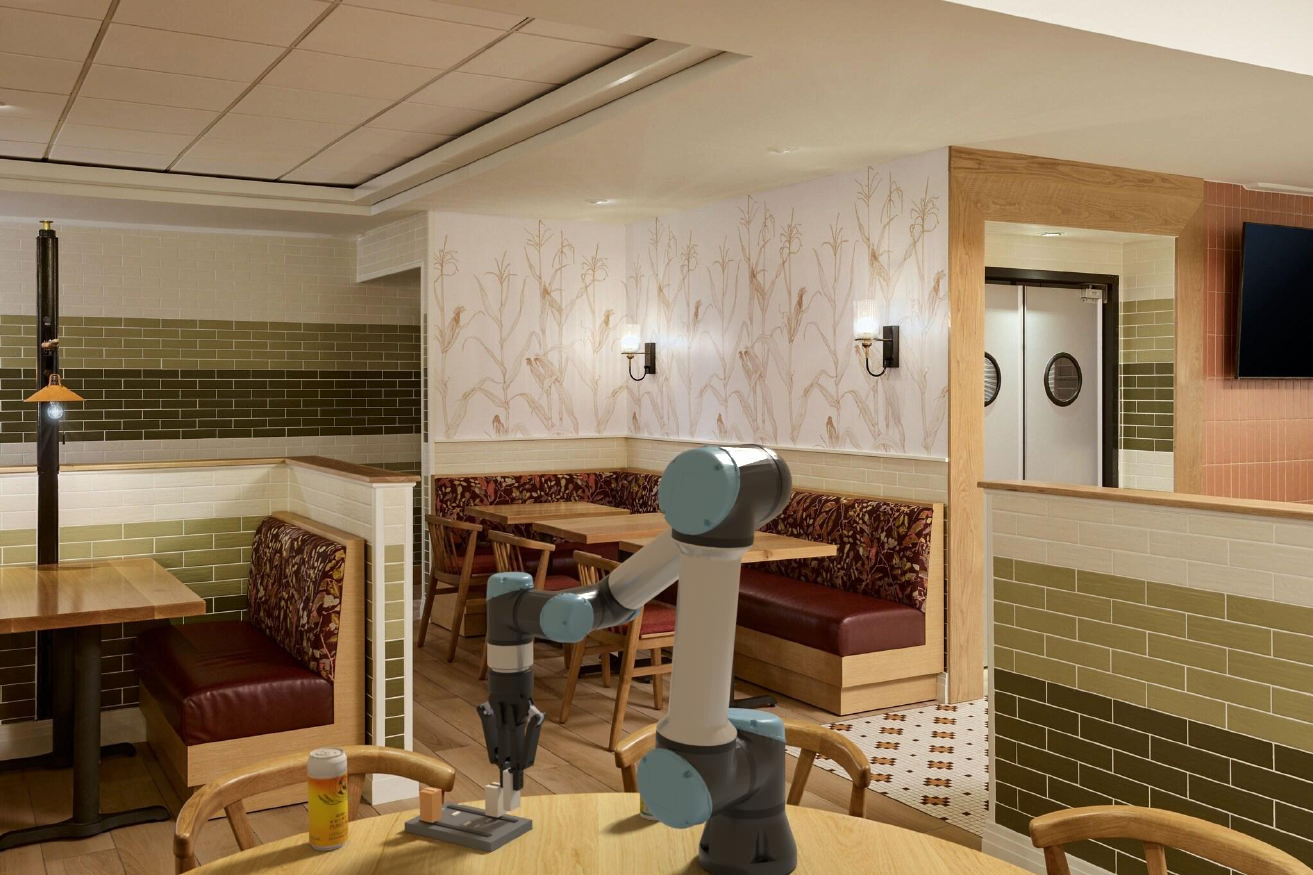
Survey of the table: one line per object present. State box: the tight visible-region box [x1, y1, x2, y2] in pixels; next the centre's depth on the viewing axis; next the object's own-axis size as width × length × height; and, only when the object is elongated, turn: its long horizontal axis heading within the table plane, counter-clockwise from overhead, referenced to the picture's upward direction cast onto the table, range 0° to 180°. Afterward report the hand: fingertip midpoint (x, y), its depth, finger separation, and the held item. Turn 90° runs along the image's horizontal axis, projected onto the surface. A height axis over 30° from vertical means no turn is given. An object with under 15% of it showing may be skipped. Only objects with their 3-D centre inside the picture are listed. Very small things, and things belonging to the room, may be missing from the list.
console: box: [404, 801, 533, 853], centre depth 187 cm, size 18×11×2 cm, turn 60°
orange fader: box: [419, 786, 443, 823], centre depth 186 cm, size 3×2×5 cm
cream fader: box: [484, 781, 508, 817], centre depth 189 cm, size 3×2×5 cm
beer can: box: [306, 746, 349, 852], centre depth 181 cm, size 6×6×15 cm
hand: (511, 807), depth 187 cm, fingers closed
